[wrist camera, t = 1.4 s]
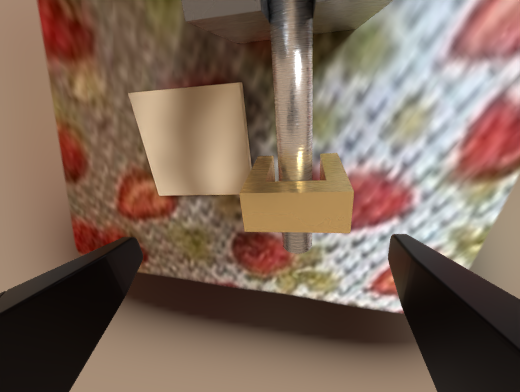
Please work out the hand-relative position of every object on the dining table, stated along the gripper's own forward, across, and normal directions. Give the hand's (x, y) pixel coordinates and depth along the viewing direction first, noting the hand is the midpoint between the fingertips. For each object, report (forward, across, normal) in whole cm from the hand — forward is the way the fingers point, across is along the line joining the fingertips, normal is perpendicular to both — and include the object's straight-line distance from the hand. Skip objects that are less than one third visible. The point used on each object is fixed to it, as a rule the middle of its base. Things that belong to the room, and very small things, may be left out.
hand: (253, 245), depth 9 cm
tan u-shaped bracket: (+11, -1, +2) cm, 12 cm away
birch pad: (+13, +7, -1) cm, 15 cm away
